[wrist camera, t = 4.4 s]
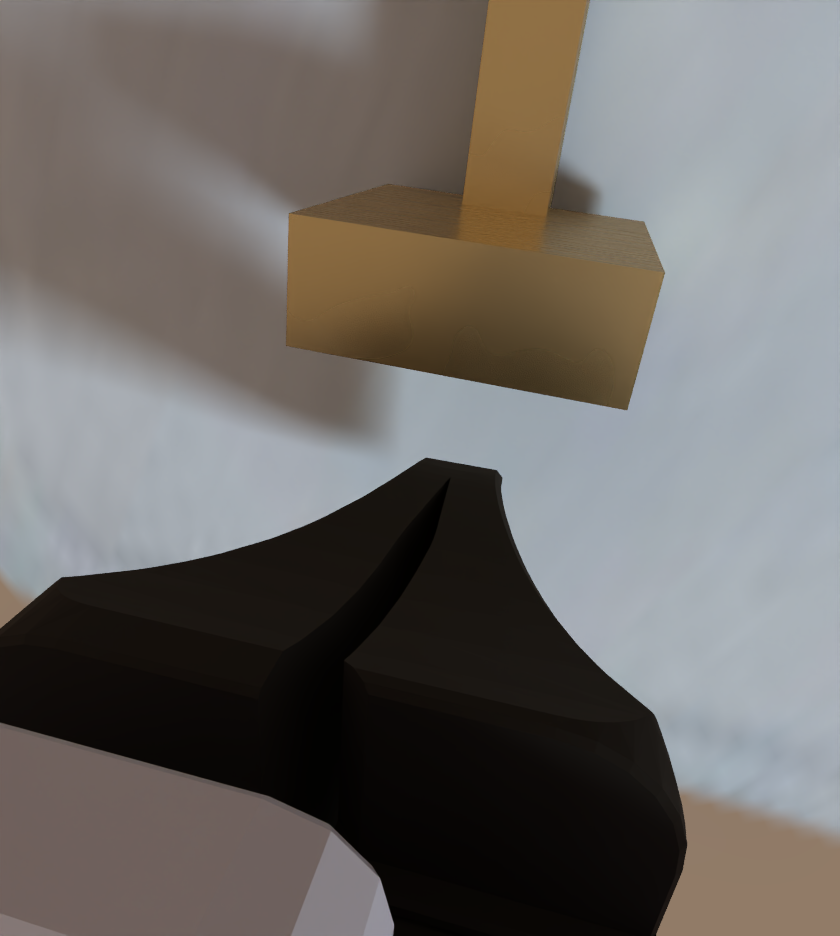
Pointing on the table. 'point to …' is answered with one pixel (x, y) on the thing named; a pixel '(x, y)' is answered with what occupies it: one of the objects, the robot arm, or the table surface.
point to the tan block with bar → (486, 246)
